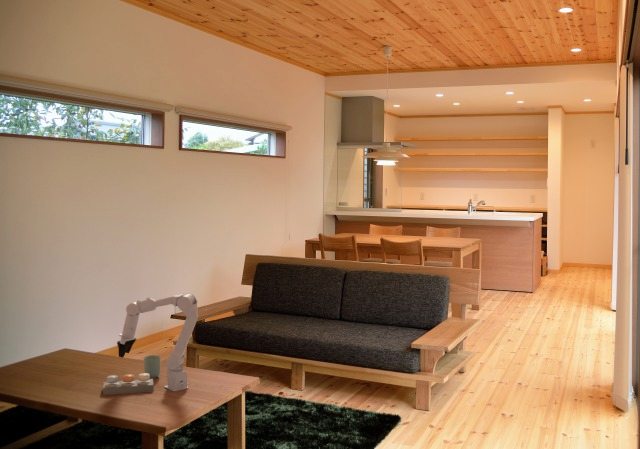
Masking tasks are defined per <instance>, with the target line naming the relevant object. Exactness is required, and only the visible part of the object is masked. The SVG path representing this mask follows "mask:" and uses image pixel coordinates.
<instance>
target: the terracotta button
mask: <svg viewBox="0 0 640 449" xmlns="http://www.w3.org/2000/svg"><path fill="white" fill-rule="evenodd" d="M134 376H135V374H132V373H129V374H123V375H122V381H123V382H133V381H134V380H135V377H134Z"/></svg>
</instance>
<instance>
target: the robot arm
mask: <svg viewBox="0 0 640 449" xmlns="http://www.w3.org/2000/svg"><path fill="white" fill-rule="evenodd" d="M168 305H172V306H174V307H178V309H179V310H180V311H181V312H182V313H183V314H184V315H185V317H186V318H185V321H184V323H183V326H182V328H181V331H180V333H179V336H178V338H177V340H176V343H175V346H174V348H173V349H172V352H171V353H170V355H169V357H167V359H166V360H165V367H166V368H167V370H166V371H167V374H166V375H167V376H166V377H167V385H164V386H163V388H166V390H167V389H168V390H170V391H172V392H179V391H182V390H183V391H184V390H186V389H189V388H190V387H189V386H188V374H187V372H186V371H185V370H184V365H183V364H184V363H185V355H186V348H187V346H188V343H189V341H190V340H191V337H192V334H193V332H194V328H195V326H196V323H197V321H198V319H199V310H198V308H199V307H198V300H197V298H196V296H195V295H194V294H192V293H181V294H174V295H170V296H167V297H163V298H160V299H154V298H150V297H146V299H142V300H139V299H137V300H136V301H133V302H131V303H129V304H128V305H127V306H126V308H125V311H126V316H125V319H124V320H125V321H124V325H123V329H122V333H119V334H118V336H119V337H120V340H118V341H117V343H116V344H117V348H118V358H122V359H123V358H124V357H125V355H126V354H130V352H131V350H132V347H133V345H134V344H135V343H136V341H137V338H136V337H135V336H136V331H137V326H138V323H139V317H140V314H144V313H149V312H153V311H155V310H156V309H157V308H159V307H163V306H168Z"/></svg>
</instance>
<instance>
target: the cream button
mask: <svg viewBox="0 0 640 449" xmlns="http://www.w3.org/2000/svg"><path fill="white" fill-rule="evenodd" d="M150 379H151V378H150V374H148V373H145V372H144V373H139V374H138V380H139V381H148V380H150Z"/></svg>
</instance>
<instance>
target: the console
mask: <svg viewBox="0 0 640 449" xmlns="http://www.w3.org/2000/svg"><path fill="white" fill-rule="evenodd" d="M148 392H149V393H150V392H154V378H150V380H148V381H139V379H134V381H133V382H123V380H118V382H117V383H112V384H110V383H107V381H103V386H102V395H103V396H107V395H109V396H110V395H120V394H136V393H148Z"/></svg>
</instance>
